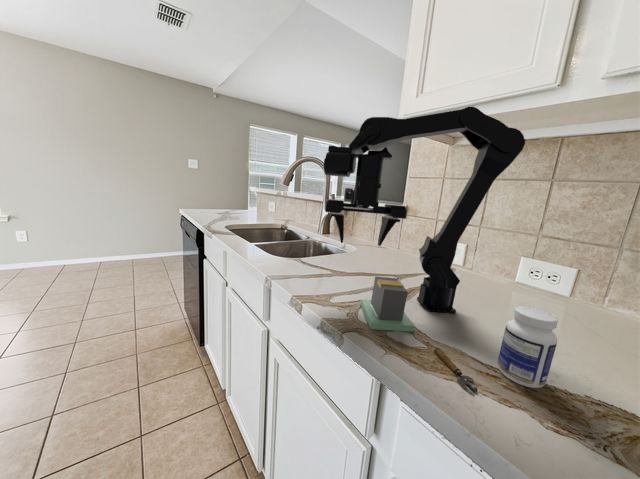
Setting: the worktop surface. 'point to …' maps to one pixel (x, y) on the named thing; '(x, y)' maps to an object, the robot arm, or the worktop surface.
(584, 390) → the worktop surface
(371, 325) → the board
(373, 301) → the block
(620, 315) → the worktop surface
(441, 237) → the robot arm
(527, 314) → the pill bottle
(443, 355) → the can opener
